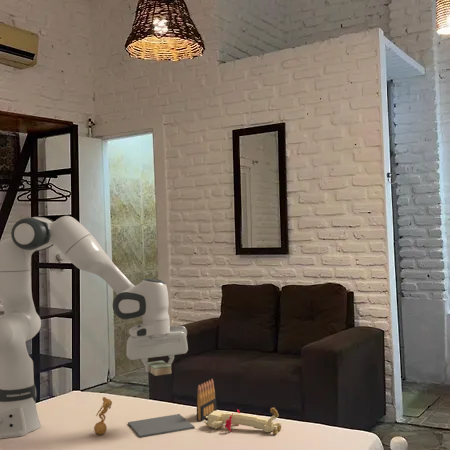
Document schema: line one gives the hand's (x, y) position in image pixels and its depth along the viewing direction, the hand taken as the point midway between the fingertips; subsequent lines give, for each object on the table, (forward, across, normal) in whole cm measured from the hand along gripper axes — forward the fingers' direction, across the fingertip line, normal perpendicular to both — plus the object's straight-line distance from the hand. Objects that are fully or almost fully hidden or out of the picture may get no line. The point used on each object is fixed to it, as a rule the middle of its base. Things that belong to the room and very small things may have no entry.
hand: (158, 370), depth 201 cm
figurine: (+18, +19, -1) cm, 26 cm away
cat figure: (+19, -22, +16) cm, 33 cm away
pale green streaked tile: (-1, 0, +6) cm, 6 cm away
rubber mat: (+18, 0, 0) cm, 18 cm away
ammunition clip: (+19, -17, -2) cm, 25 cm away
